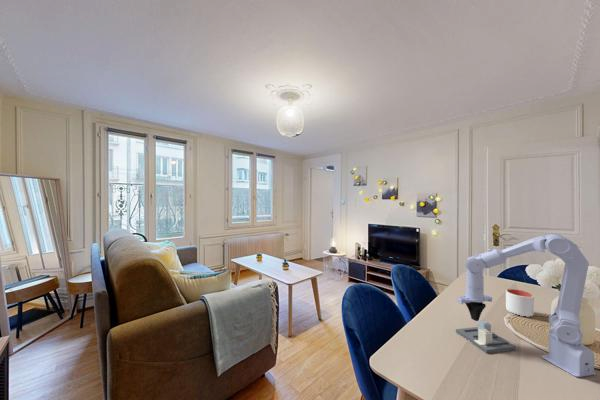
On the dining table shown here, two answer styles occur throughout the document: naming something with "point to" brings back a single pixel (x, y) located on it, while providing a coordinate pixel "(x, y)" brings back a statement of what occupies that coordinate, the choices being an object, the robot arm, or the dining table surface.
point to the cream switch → (485, 336)
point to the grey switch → (484, 325)
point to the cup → (520, 302)
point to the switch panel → (496, 345)
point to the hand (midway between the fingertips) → (474, 319)
